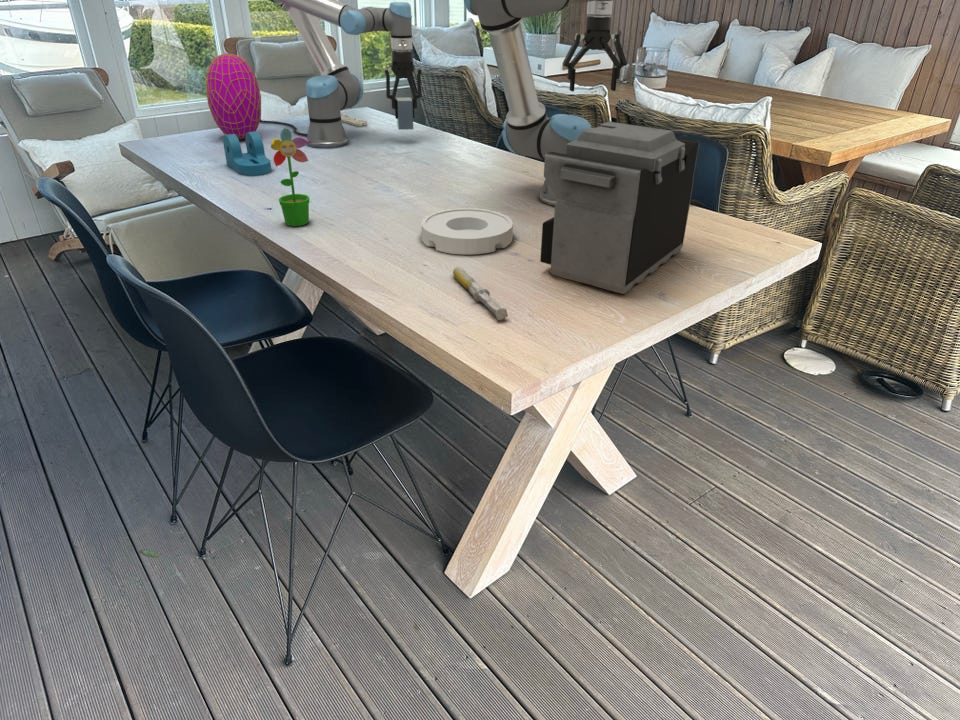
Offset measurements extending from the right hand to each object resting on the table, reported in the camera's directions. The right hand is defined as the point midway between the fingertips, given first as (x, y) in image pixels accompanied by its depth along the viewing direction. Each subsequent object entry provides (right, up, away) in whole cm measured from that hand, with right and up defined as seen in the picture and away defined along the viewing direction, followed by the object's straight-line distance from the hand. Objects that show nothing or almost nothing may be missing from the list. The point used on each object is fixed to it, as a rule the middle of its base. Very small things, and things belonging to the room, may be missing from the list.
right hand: (592, 90), depth 218 cm
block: (-64, +2, +42) cm, 76 cm away
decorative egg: (-129, 0, +48) cm, 137 cm away
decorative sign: (-94, +17, +77) cm, 123 cm away
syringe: (-36, -73, -73) cm, 109 cm away
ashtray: (-39, -55, -43) cm, 80 cm away
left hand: (-64, +5, +40) cm, 76 cm away
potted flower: (-84, -49, -35) cm, 104 cm away
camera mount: (-112, -22, +11) cm, 115 cm away
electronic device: (-4, -63, -56) cm, 84 cm away
